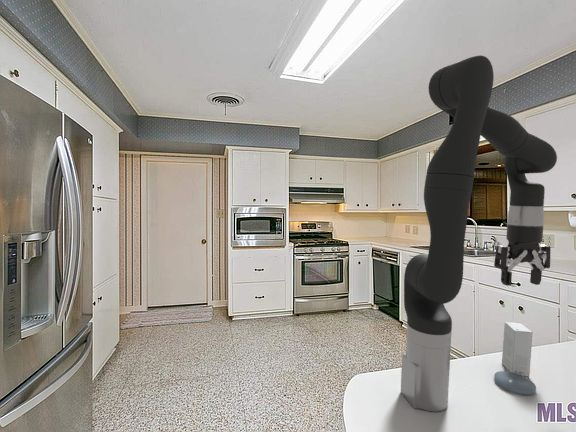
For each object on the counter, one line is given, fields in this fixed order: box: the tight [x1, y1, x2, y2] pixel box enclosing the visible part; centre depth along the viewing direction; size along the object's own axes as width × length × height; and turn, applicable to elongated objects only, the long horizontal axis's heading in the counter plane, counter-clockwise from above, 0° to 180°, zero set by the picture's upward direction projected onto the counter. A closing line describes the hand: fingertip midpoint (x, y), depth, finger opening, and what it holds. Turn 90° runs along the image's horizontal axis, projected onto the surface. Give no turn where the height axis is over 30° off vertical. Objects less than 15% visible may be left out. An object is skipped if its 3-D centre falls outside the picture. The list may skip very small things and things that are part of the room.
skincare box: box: [501, 321, 533, 377], centre depth 84 cm, size 6×4×12 cm
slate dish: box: [493, 370, 537, 397], centre depth 78 cm, size 8×8×1 cm
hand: (520, 284), depth 83 cm, fingers open, 8 cm apart
